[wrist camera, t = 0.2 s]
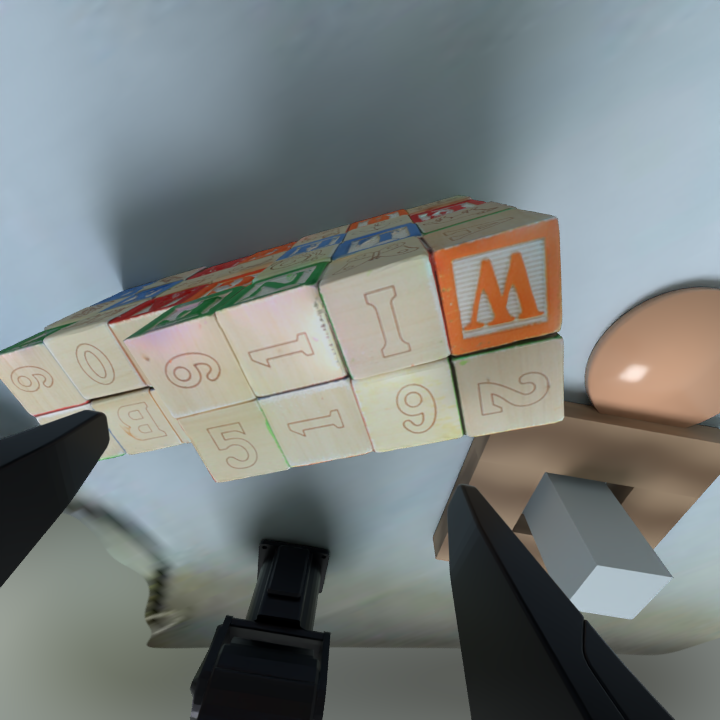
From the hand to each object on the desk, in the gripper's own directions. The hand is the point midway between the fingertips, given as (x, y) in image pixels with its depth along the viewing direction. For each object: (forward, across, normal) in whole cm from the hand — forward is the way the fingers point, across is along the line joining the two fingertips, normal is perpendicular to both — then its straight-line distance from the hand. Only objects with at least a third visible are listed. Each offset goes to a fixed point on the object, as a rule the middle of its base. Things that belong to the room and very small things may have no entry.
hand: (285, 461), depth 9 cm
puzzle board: (+14, -20, +12) cm, 27 cm away
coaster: (+14, -21, 0) cm, 26 cm away
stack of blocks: (+15, +3, +1) cm, 15 cm away
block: (+15, -20, +12) cm, 27 cm away
